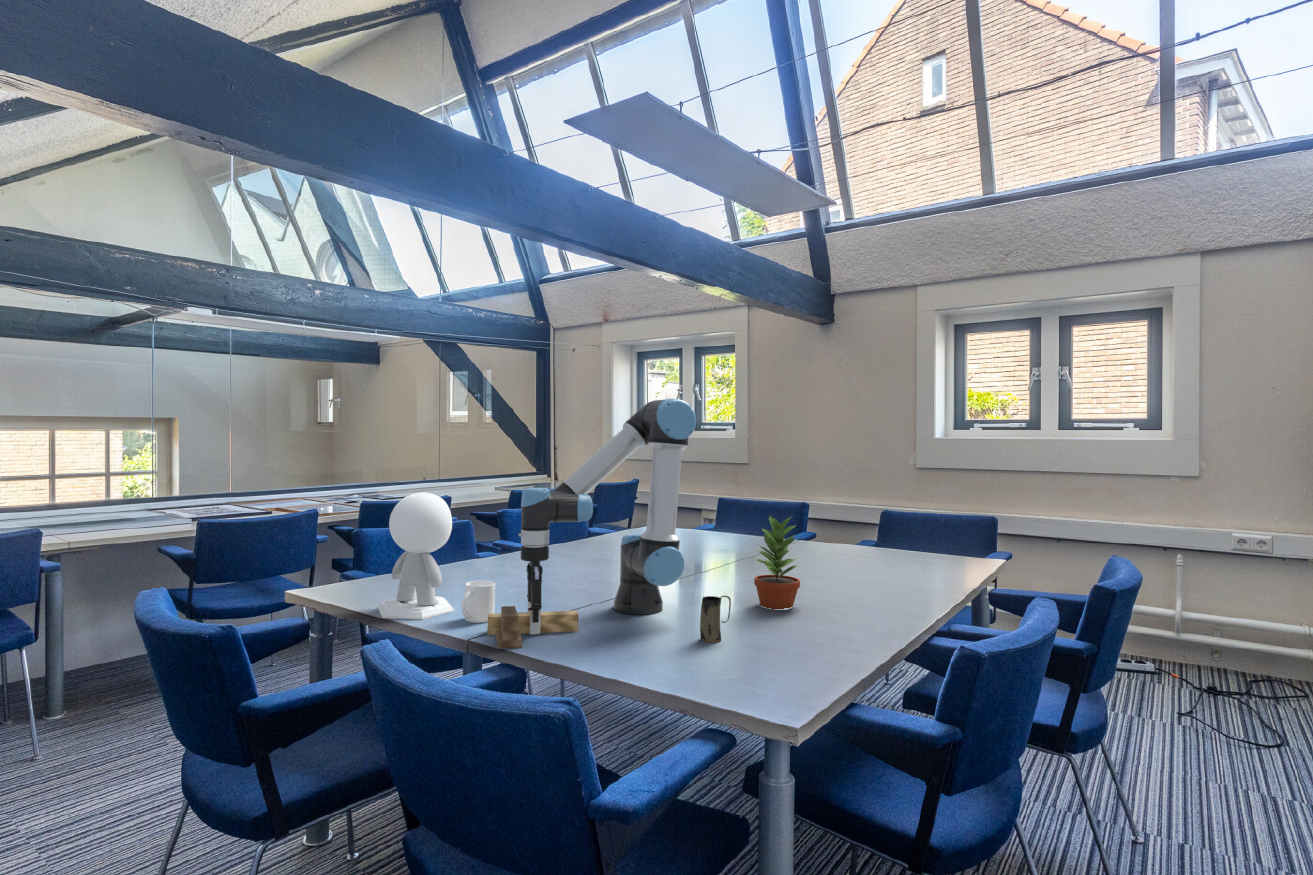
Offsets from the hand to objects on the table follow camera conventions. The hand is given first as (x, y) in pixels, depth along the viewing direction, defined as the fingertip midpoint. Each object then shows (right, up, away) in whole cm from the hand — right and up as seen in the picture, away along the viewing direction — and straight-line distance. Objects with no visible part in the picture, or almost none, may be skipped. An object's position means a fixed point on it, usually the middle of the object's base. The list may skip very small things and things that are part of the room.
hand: (533, 629), depth 187 cm
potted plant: (+71, -2, +34) cm, 79 cm away
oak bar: (0, -1, 0) cm, 1 cm away
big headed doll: (-38, 0, +19) cm, 43 cm away
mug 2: (+49, -2, -4) cm, 49 cm away
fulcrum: (-5, 0, -11) cm, 12 cm away
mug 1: (-18, 0, +9) cm, 20 cm away
